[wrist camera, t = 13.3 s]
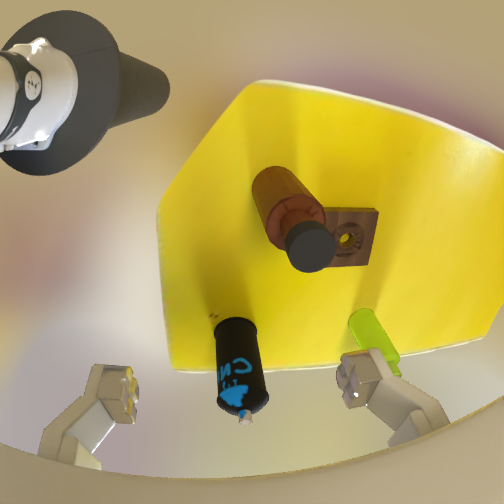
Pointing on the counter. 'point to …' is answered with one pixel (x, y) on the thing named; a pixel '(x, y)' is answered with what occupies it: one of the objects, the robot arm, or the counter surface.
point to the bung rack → (352, 234)
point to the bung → (310, 246)
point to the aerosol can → (239, 369)
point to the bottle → (284, 203)
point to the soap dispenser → (373, 337)
